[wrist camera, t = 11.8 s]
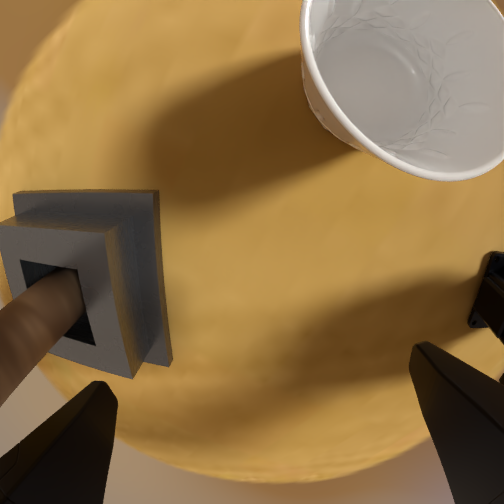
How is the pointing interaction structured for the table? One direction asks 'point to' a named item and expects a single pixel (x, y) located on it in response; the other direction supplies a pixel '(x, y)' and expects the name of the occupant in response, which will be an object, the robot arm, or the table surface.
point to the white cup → (409, 81)
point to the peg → (37, 324)
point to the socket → (96, 270)
